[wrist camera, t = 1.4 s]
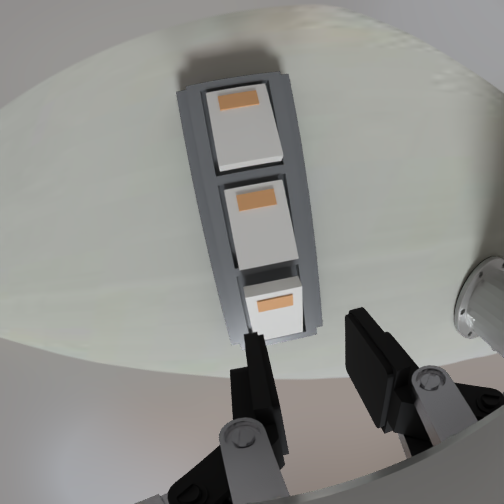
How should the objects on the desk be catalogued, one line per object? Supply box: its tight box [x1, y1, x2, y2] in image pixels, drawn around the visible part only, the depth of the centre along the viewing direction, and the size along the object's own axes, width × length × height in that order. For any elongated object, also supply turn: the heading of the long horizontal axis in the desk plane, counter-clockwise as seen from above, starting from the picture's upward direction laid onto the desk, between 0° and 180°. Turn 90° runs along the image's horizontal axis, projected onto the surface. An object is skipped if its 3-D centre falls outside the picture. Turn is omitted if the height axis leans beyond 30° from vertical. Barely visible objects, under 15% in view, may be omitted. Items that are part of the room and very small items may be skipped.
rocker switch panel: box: [176, 71, 323, 350], centre depth 25 cm, size 23×9×4 cm, turn 10°
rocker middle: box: [224, 180, 299, 270], centre depth 23 cm, size 6×4×1 cm
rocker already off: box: [243, 276, 303, 340], centre depth 25 cm, size 6×4×1 cm
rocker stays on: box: [206, 84, 283, 172], centre depth 20 cm, size 6×4×1 cm
